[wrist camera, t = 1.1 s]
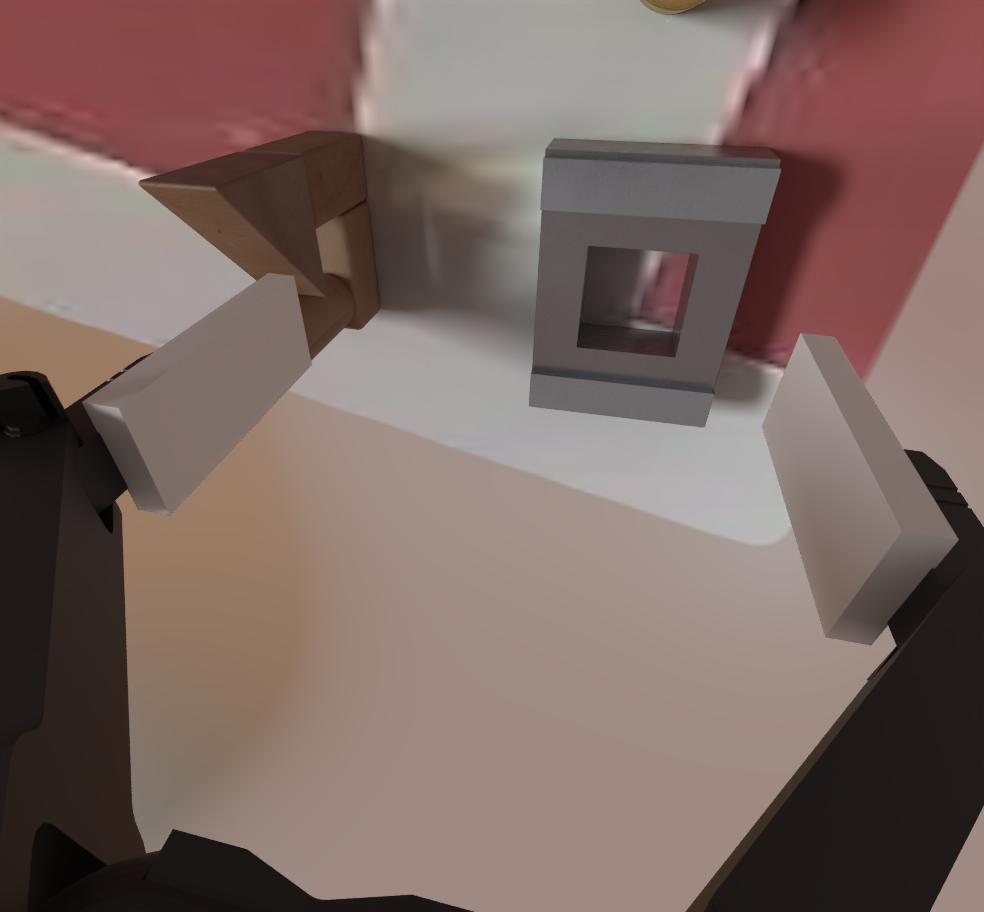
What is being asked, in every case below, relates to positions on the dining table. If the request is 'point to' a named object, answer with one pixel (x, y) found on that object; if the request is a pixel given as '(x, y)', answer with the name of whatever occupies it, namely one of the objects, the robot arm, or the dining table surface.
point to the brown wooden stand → (288, 222)
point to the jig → (645, 226)
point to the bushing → (671, 5)
